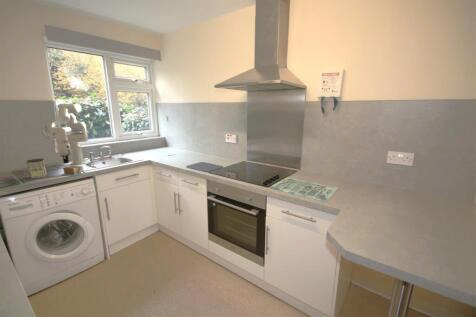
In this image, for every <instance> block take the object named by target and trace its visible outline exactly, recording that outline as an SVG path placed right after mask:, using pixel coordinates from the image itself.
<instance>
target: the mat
mask: <svg viewBox="0 0 476 317" xmlns="http://www.w3.org/2000/svg"><path fill="white" fill-rule="evenodd" d="M82 174H85V172H83V173H77V174H64V173H63V174H61V176H69V175H70V176H71V177H72V176H73V177H74V176H78V175H82ZM70 176H69V177H70Z"/></svg>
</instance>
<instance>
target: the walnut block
mask: <svg viewBox="0 0 476 317" xmlns="http://www.w3.org/2000/svg"><path fill="white" fill-rule="evenodd" d="M62 170H63V174H77V173H81V172H84V171H85V170H84V166H83V165H70V166H64V167H62Z"/></svg>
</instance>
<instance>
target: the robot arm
mask: <svg viewBox="0 0 476 317" xmlns="http://www.w3.org/2000/svg"><path fill="white" fill-rule="evenodd" d="M81 112H82V107H81V105H80V104H79V103H63V104H59V105H58V112H57V114H58V115H57V117H55V119H54V120H52V121H51V123H50V130H49V131H50V134H51V135H52V136H55V140H56V148H57V154H58V155H59V156H60V157H61V158H62V161H63V164H68V163H70V161H69V158H71V163H70V166H79V165H83V164H84V165H85V164H86V163H87V162H86V161H88V160H89V158H88V157H86V158H84V154H83V150H82V146H81V144H80V143H83V142H84V143H86V142H88V141H89V135H88V128H87V124H86V123H85V122H83V121H77V117H76V115H75V114H77V115H78V114H81ZM63 124H66V126H60V125H63Z"/></svg>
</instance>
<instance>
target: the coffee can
mask: <svg viewBox="0 0 476 317" xmlns="http://www.w3.org/2000/svg"><path fill="white" fill-rule="evenodd" d="M26 163H27V166H28V167H27V168H28V171H29V176H30V179H38V178H43V177H46V176H48V174H47V169H46V165H45V159H44V158H33V159H28V160H26Z"/></svg>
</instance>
